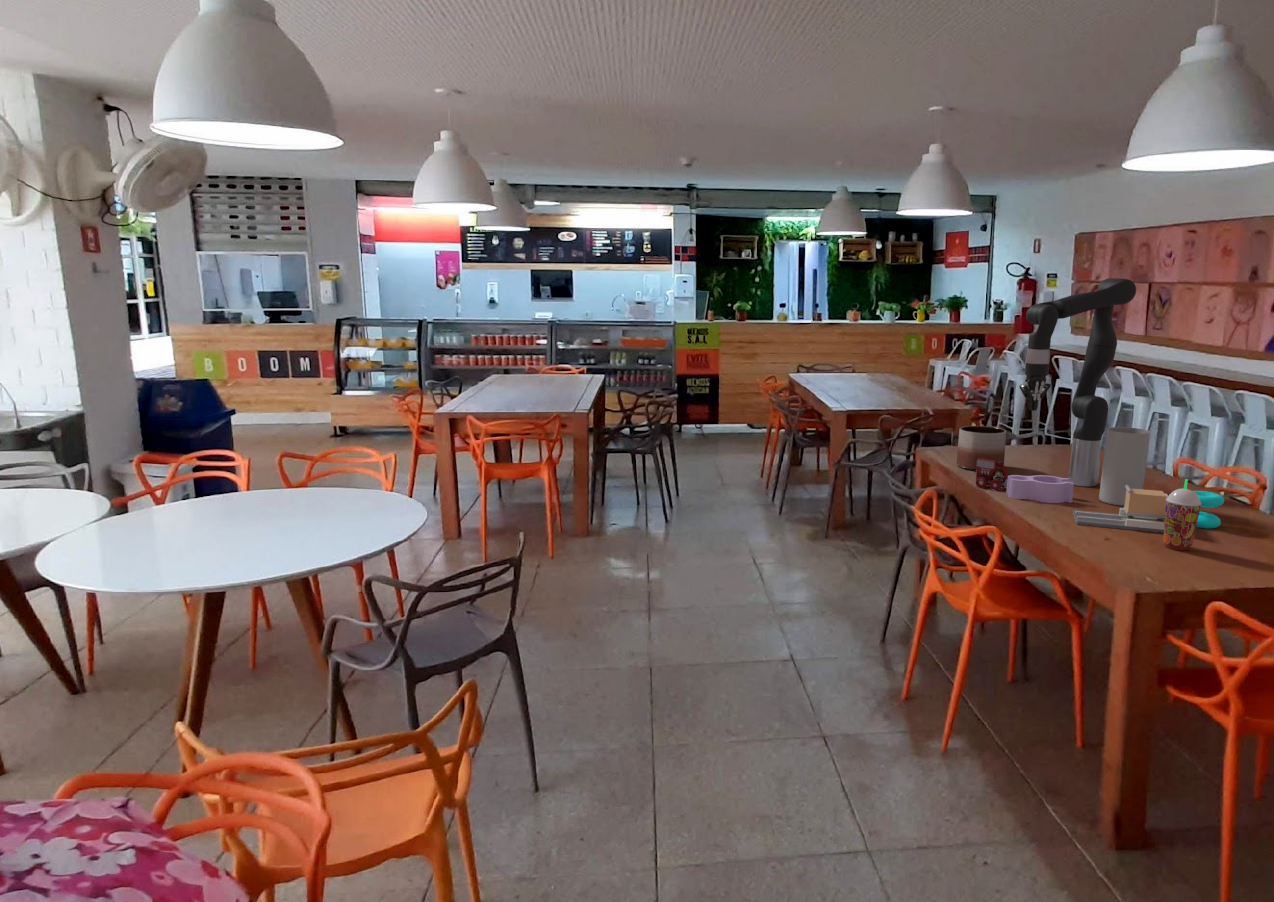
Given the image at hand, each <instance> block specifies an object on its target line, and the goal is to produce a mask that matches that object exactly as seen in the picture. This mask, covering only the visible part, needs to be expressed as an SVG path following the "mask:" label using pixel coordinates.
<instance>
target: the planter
mask: <svg viewBox="0 0 1274 902" xmlns="http://www.w3.org/2000/svg"><path fill="white" fill-rule="evenodd" d="M1006 440H1007V430H1006V429H1004V428H1001V427H995V426H988V425H987V426H986V425H984V426H983V425H965V426H961V427H959V432H958V444H957V451H956V465H957V466H958V467H960V468H962V469H964V468H966V469H965V470H968V469H970V470H969V471H974V470H977V466H976V461H977V459H979V458H980V459H986V460H993V461H997V463H998V462H999V461H1003V462H1004V463H1005V455H1006ZM998 470H999V469H998ZM996 471H997V470H996ZM996 471H995V472H996Z"/></svg>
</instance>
